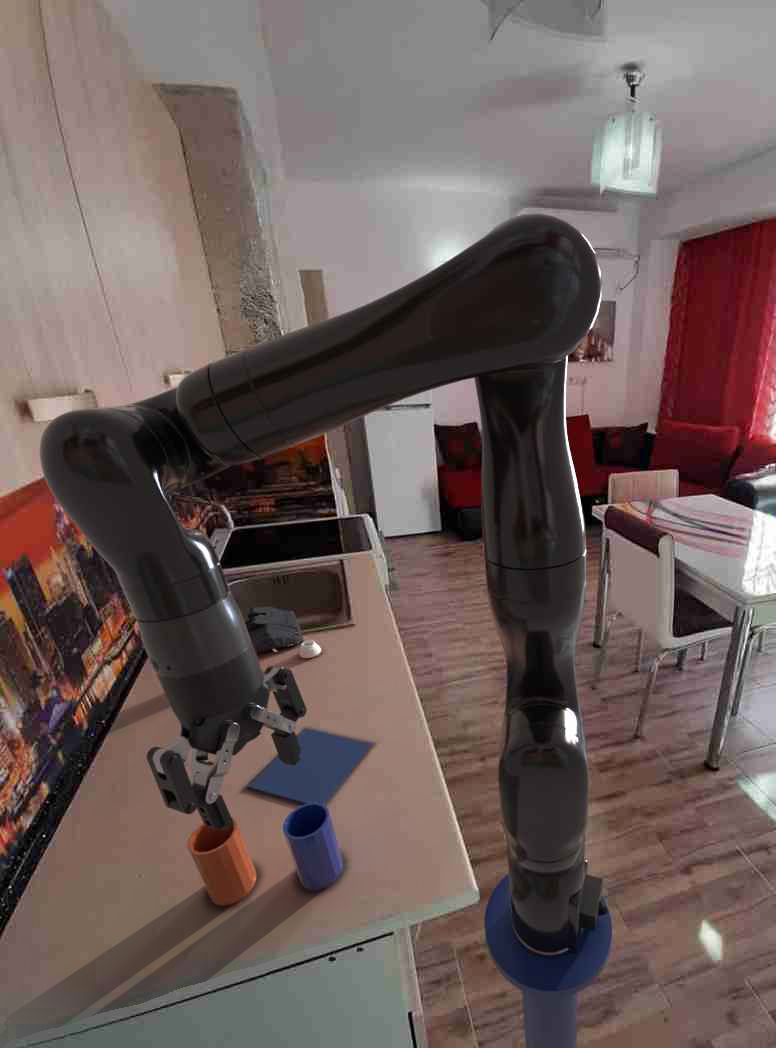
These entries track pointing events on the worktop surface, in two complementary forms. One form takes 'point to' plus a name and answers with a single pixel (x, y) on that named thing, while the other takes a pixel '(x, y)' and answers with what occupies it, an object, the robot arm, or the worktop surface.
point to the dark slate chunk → (272, 628)
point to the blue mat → (312, 768)
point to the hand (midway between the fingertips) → (260, 791)
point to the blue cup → (313, 845)
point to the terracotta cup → (222, 863)
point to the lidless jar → (309, 649)
